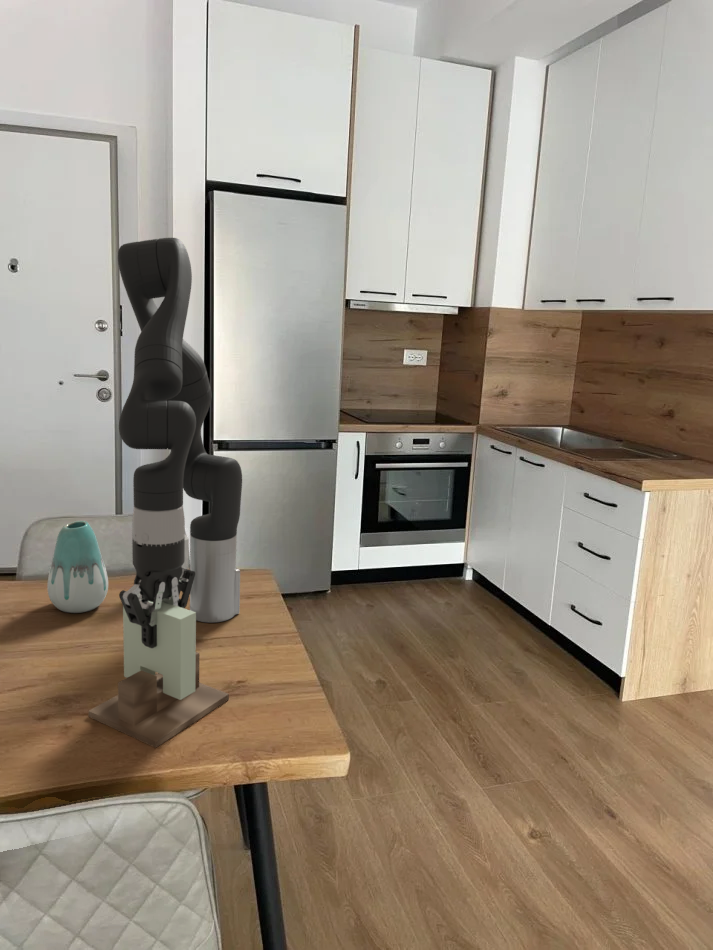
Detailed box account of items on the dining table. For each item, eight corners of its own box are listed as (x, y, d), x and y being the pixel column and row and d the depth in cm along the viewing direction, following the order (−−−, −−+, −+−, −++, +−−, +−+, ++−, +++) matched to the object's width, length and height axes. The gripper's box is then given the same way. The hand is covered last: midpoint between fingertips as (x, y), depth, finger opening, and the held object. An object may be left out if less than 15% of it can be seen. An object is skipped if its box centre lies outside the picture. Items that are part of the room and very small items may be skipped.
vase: (43, 619, 141) (39, 532, 137) (53, 597, 152) (50, 515, 148) (105, 617, 143) (103, 531, 139) (111, 594, 154) (109, 515, 150)
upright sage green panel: (139, 668, 116) (138, 593, 113) (195, 691, 110) (195, 612, 107) (124, 676, 113) (122, 599, 110) (180, 700, 107) (180, 619, 104)
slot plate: (165, 674, 122) (164, 636, 121) (228, 699, 116) (229, 659, 114) (88, 716, 109) (87, 674, 107) (155, 747, 102) (155, 703, 101)
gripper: (174, 519, 114) (174, 620, 118) (103, 540, 102) (105, 652, 106) (210, 528, 110) (208, 632, 114) (140, 551, 98) (141, 666, 102)
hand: (159, 641), depth 110 cm, fingers closed on upright sage green panel, 3 cm apart
